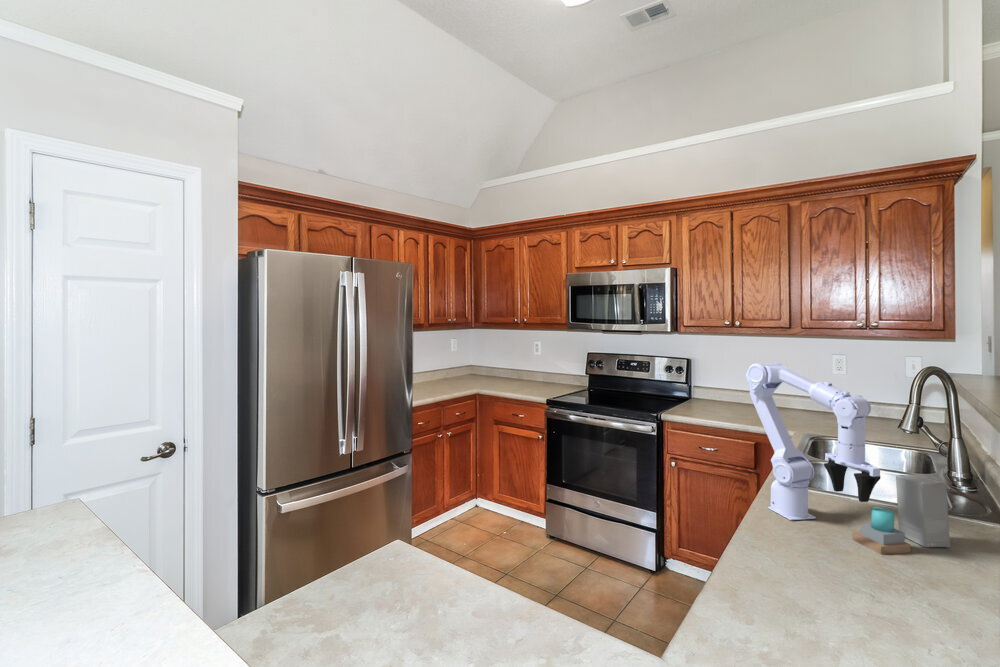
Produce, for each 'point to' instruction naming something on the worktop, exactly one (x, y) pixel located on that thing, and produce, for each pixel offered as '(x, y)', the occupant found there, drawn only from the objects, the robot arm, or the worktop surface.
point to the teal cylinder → (882, 519)
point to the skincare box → (923, 510)
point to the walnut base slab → (880, 545)
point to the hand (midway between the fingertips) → (850, 496)
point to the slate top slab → (883, 535)
